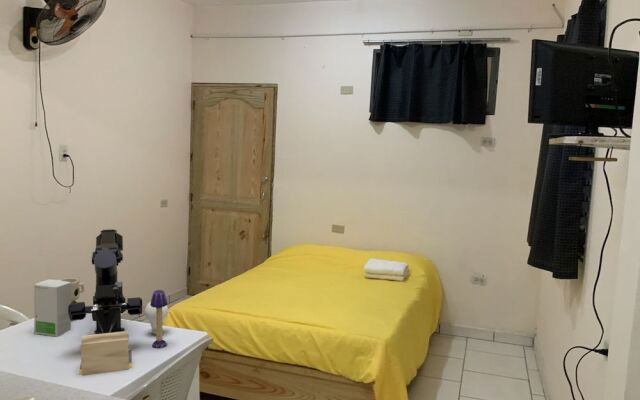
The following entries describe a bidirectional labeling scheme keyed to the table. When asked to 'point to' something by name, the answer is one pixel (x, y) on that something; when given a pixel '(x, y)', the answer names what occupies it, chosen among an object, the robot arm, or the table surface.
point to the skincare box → (52, 307)
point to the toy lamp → (159, 316)
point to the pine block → (104, 352)
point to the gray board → (129, 362)
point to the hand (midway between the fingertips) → (106, 337)
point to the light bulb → (154, 316)
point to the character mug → (74, 288)
